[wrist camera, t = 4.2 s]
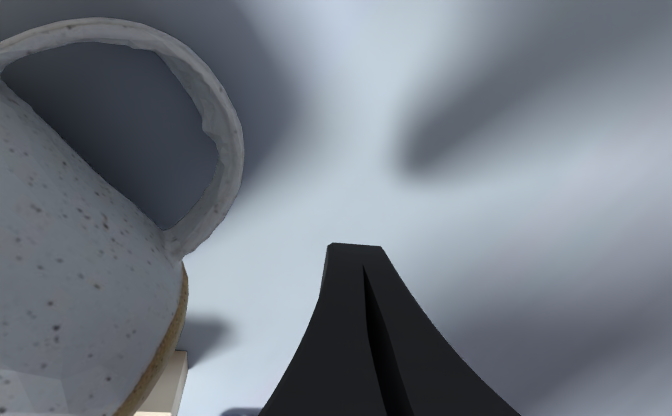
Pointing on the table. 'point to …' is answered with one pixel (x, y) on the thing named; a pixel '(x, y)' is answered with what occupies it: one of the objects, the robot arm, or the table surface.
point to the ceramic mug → (95, 245)
